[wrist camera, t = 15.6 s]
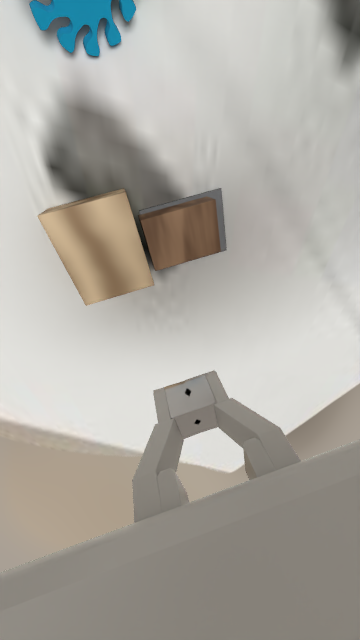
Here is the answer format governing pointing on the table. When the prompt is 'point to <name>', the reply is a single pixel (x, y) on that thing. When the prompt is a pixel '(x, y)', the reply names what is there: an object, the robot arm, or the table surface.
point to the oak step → (99, 245)
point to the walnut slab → (181, 232)
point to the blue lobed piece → (82, 20)
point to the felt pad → (212, 194)
